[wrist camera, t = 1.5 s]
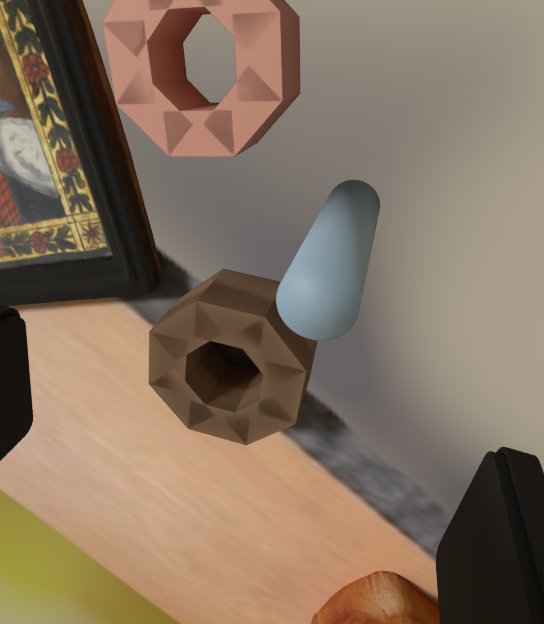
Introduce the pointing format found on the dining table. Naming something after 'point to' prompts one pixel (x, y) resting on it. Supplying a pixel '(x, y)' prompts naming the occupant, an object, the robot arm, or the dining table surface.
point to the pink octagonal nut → (180, 92)
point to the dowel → (331, 265)
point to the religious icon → (65, 166)
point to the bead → (215, 369)
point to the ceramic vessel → (378, 603)
